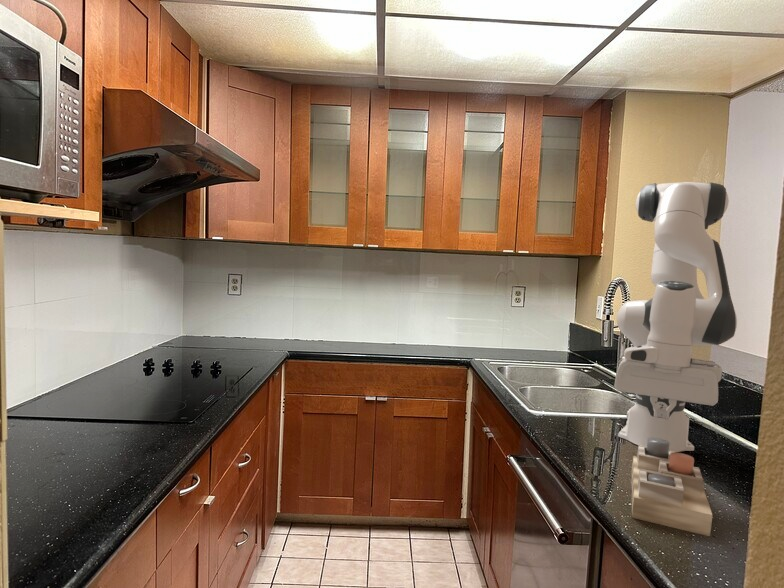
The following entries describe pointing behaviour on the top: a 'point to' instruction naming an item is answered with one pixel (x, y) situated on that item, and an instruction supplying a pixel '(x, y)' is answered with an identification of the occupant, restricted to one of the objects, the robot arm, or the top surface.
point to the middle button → (681, 463)
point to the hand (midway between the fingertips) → (661, 417)
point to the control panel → (669, 495)
